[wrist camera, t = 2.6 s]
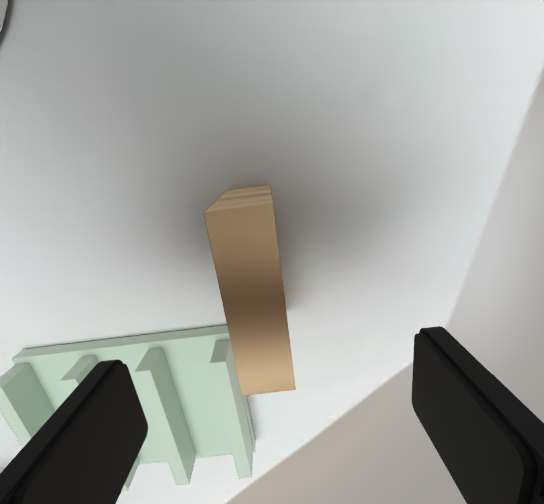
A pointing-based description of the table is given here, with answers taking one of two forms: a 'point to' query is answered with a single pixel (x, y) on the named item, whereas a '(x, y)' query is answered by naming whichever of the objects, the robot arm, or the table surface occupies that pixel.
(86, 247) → the table surface
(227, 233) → the oak board
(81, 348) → the dish rack
